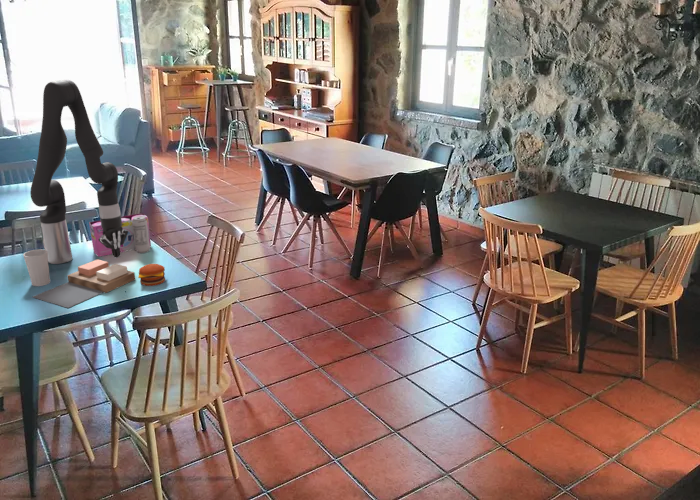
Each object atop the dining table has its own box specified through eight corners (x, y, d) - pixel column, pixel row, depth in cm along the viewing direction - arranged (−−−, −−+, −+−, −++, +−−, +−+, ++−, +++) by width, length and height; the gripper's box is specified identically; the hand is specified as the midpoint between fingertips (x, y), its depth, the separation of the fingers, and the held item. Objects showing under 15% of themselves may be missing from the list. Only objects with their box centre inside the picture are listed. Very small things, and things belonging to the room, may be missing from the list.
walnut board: (68, 282, 226) (67, 275, 225) (99, 270, 238) (97, 263, 237) (105, 293, 217) (104, 285, 216) (135, 279, 229) (134, 272, 228)
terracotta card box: (78, 273, 227) (77, 266, 226) (98, 265, 235) (97, 259, 234) (89, 275, 225) (88, 269, 224) (109, 268, 232) (108, 262, 231)
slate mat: (32, 297, 214) (32, 296, 214) (68, 282, 226) (68, 281, 226) (68, 308, 205) (68, 307, 205) (103, 292, 218) (103, 291, 218)
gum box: (148, 241, 270) (145, 212, 266) (154, 246, 264) (151, 216, 260) (93, 252, 257) (88, 221, 253) (98, 257, 251) (93, 226, 247)
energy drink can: (152, 248, 261) (148, 215, 256) (148, 253, 255) (143, 219, 250) (138, 248, 261) (133, 215, 256) (133, 253, 255) (129, 220, 250)
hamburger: (139, 287, 222) (137, 271, 220) (141, 278, 231) (139, 262, 228) (165, 285, 224) (163, 268, 222) (166, 275, 233) (164, 259, 231)
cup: (57, 280, 228) (52, 250, 224) (41, 288, 221) (35, 257, 217) (41, 277, 231) (35, 248, 227) (24, 285, 224) (18, 255, 220)
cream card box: (97, 277, 223) (96, 271, 222) (116, 269, 230) (115, 263, 229) (108, 281, 220) (107, 274, 219) (127, 272, 228) (126, 266, 227)
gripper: (117, 209, 239) (123, 250, 245) (89, 218, 228) (96, 260, 234) (130, 211, 236) (136, 253, 242) (103, 220, 225) (110, 263, 231)
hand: (116, 256), depth 238 cm, fingers closed
